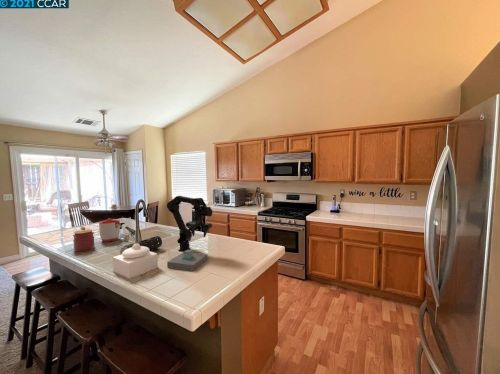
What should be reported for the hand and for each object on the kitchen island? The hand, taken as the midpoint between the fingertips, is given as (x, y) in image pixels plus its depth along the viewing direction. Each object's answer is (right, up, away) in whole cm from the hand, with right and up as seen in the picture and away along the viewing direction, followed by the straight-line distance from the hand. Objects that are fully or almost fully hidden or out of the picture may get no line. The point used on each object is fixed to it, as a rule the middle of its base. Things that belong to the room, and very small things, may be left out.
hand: (198, 236), depth 158 cm
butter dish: (-32, -14, -26) cm, 44 cm away
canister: (-92, -13, +11) cm, 93 cm away
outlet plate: (-2, -13, -18) cm, 22 cm away
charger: (-2, -13, -18) cm, 22 cm away
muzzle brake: (-40, -13, -1) cm, 42 cm away
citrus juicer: (-86, -11, +34) cm, 93 cm away
